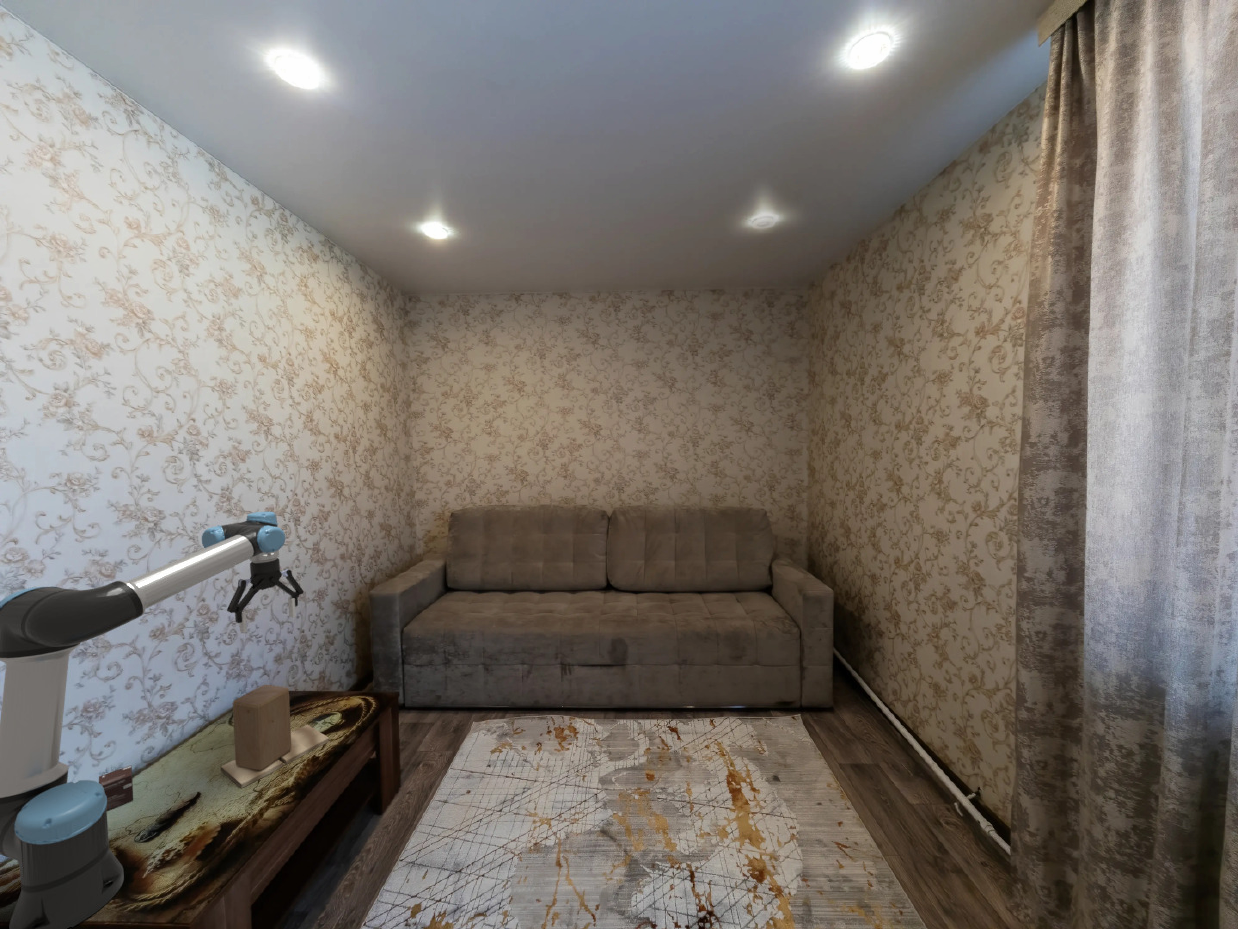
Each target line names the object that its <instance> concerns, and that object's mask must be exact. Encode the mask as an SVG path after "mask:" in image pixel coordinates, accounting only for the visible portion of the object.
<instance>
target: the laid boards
mask: <svg viewBox="0 0 1238 929" xmlns="http://www.w3.org/2000/svg"><path fill="white" fill-rule="evenodd" d="M329 742H330V738H329V737H328V736H327V735H325V734H324V733H322V732H321V731H318V730H317V729H315V728H314V727H313V726H311V725H309V724H305V725H303V726H301V727H298V728H296V729H295V730H292V731H291V749H290V751H288V752H287V753H286V754H284V755H283V756H281V757H280V758H278V760H280V761H281V762H283V763H284V764H285V765H289V764H290V763H292V762H294V761H296V760H298V759H300V758H301V757H303V756H305V755H307V754H309V753H311V752H312V751H315V750H316V749H318V748H320V747H321V746H324V745H325V744H327V743H329Z"/></svg>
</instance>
